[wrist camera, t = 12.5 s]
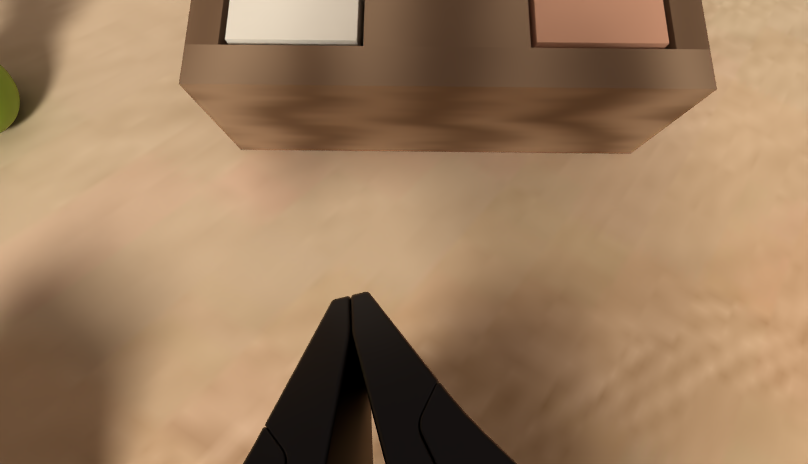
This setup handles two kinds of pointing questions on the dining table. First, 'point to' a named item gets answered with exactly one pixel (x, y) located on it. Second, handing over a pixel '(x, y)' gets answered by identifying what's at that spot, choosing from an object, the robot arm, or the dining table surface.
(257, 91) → the brown striped box
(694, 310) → the dining table surface
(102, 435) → the dining table surface
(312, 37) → the white box
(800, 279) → the dining table surface
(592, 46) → the salmon pink block
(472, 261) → the dining table surface
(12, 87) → the snail figurine
